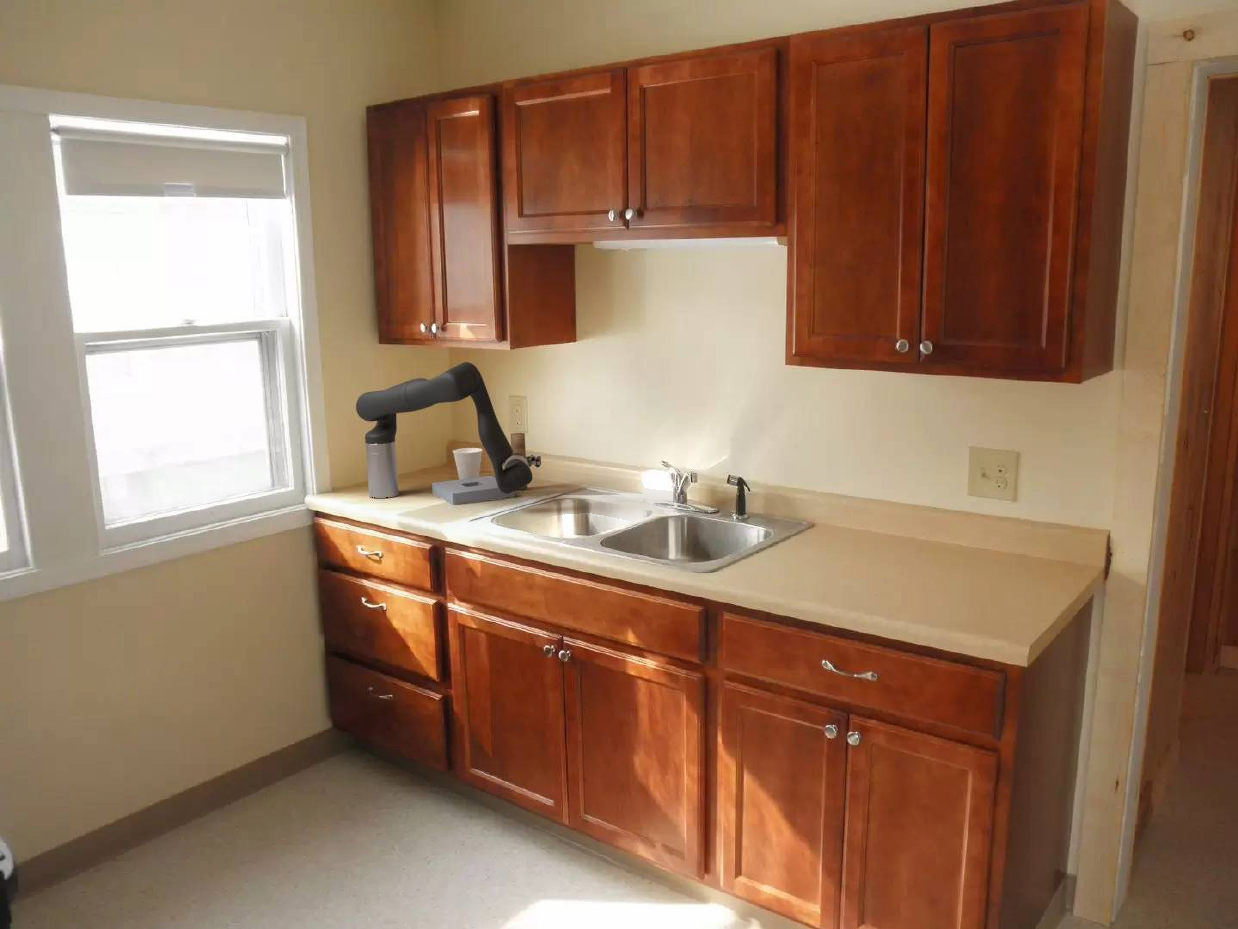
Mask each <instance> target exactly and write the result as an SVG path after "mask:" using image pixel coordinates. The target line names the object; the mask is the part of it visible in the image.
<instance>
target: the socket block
mask: <svg viewBox="0 0 1238 929" xmlns="http://www.w3.org/2000/svg"><path fill="white" fill-rule="evenodd" d="M431 488H432V489H431V490H432V492H431V493H434V494H435V496H436V495H437V496H436V497H438V498H440V497H441V498H440V499H442V498H443V499H444V500H443V499H442V500H443V501H445V500H446V502H447V503H449V504H451V503H452V504H451V505H452V506H455V505H454V504H457V505H462V504H461V503H464V504H471V503H479V502H487V501H492V500H491V499H495V500H500V499H499V498H503V499H507V498H506V497H510V498H515V496H516V492H515V491H514V492H512V493H510V494H505V493H503V492H501V491H500V489H499V488H498V486H497V482H496V477H495V476H492V475H488V476H479V477H477V478H468V479H460V480H459V479H452V480H445V481H444V480H443V481H435V482H431ZM434 494H433V495H434ZM486 500H487V501H486Z"/></svg>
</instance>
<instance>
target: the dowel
mask: <svg viewBox="0 0 1238 929" xmlns="http://www.w3.org/2000/svg"><path fill="white" fill-rule="evenodd" d="M525 434H526V433H525V432H513V433H510V445H511V447H512V449H513V454H514V453H521V454H523V455H525V456H527V454H526V435H525ZM527 490H528V484H527V485H526V486H523V487H522V488H520V489H518V490H516V491H518V492H519V491H520V492H521V491H527Z"/></svg>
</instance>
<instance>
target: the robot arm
mask: <svg viewBox="0 0 1238 929" xmlns="http://www.w3.org/2000/svg"><path fill="white" fill-rule="evenodd" d="M468 397H471V399H472V400H473V403H474V406H475V411H476V414H477V415H476V416H477V431H478V437H479V440H480V443H481V445H482V447H483V448H484V451H485V452H486V454H487V455H488V458H489V459H490V462H491V465H492V468H493V472H494V477H495V478H496V482H497V486H498V488H499V489H500V491H501V492H503V493H505V494H510V493H512V492H514V491H516V490H518V489H520V488H522V487H523V486H526V485H527V486H528V485H530V483H531V482H532V481H533V472H532V470H531V467H532V465H533V466H534V467H535V468H540V467H541V464H542V457H541V456H540V455H538V456H536V455H534V454H530V455H526V456H525V455H523V454H521V453H514V454H513V449H512V447H511V443H510V441H509V440H508V439H507V436H506V434H505V432H504V430H503V429H502V426H501V425H500V423H499V420H498V417H497V414H496V413H495V409H494V407H493V404H492V401H491V397H490V394H489V392H488V389H487V386H486V384H485V381H484V379H483V376H482V374H481V372H480V370H479V369H478V368H477V366H476V365H475V364H473V363H472V362H469V361H463V362H461V363H460V364H457V365H456V366H454V367H451V368H450V369H448V370H446V371H443V373H441V374H439V375H437V376H435V377H433V378H430V379H427V378H423V377H418V378H413V379H410V380H406V381H403V382H401V383H399V384H396V385H394V386H390V387H388V388H386V389H384V390H376V391H375V390H374V391H367V392H364V393H362V394H361V395H359V396H358V398H357V400H356V404H355V411H356V413H357V415H358V416H359V418H360V419H362V420H364V421H366V422H371V423H372V422H376V424H375V426H374V427H373V428H372V429H371V430H368V432H366V433H365V435H364V441H365V444H364V445H365V455H366V457H365V459H366V471H367V483H368V484H367V486H368V487H367V488H368V496H369V498H372V497H373V499H387V498H386V497H388V498H393V497H397V496H399V495H400V492H399V491H400V490H399V478H398V477H399V476H398V461H397V460H398V459H397V448H396V447H397V445H396V444H397V443H396V435H397V430H398V427H397V426H398V425H397V414H404V413H411V412H417V411H421V410H425V409H426V408H430V407H433V406H435V405H437V404H446V403H454V402H459V401H463V400H465V399H467V398H468ZM374 497H375V498H374Z"/></svg>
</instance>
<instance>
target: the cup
mask: <svg viewBox="0 0 1238 929" xmlns="http://www.w3.org/2000/svg"><path fill="white" fill-rule="evenodd" d="M483 451H484V450H483V448H480V447H479V448H477V447H465V448H457V449H453V450H452V453H453V457H454V462H455V465H456V471H457V476H458V478H459V479H458V480H460V479H468V478H477V477H480V470H481V461H482V455H483V453H482V452H483Z"/></svg>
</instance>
